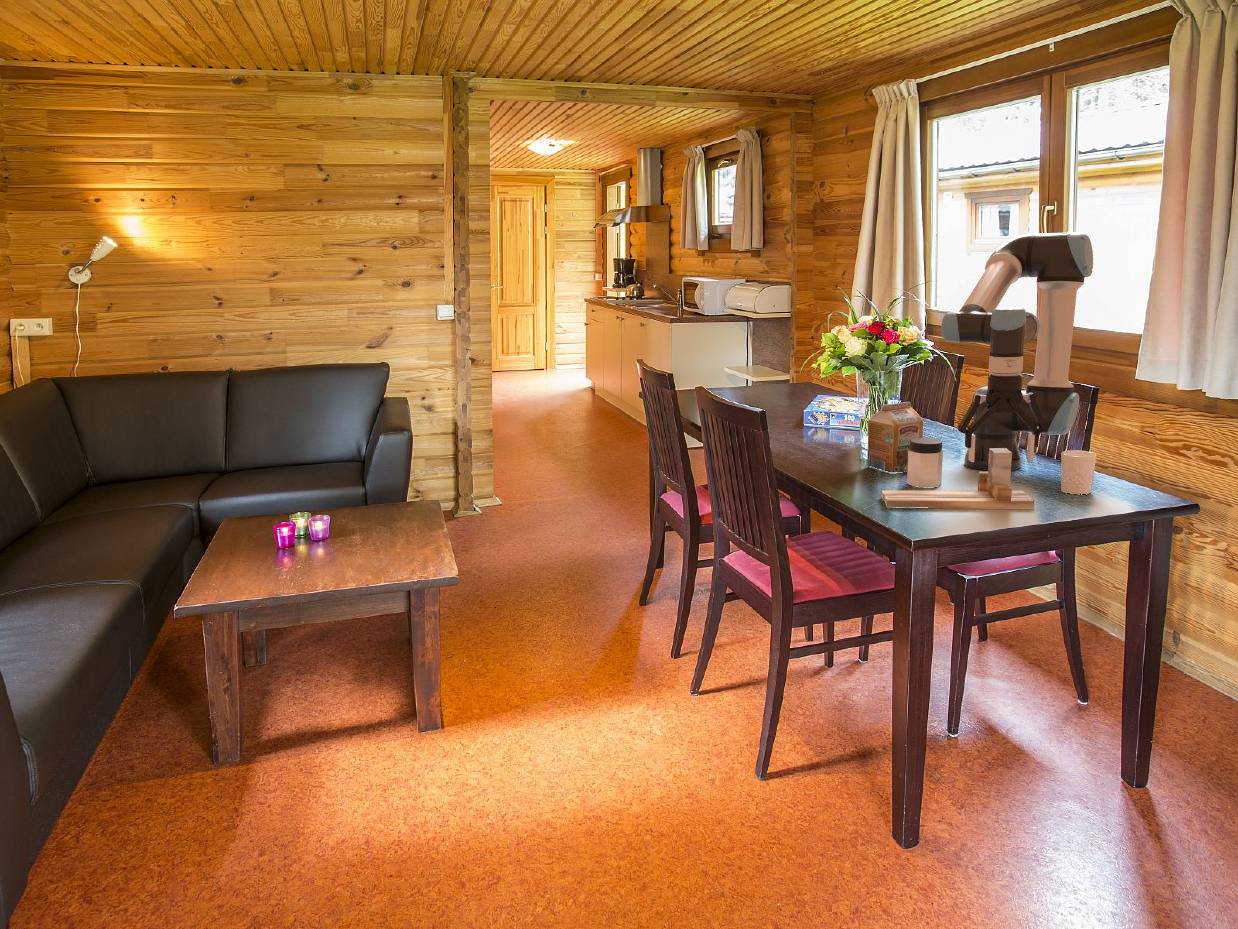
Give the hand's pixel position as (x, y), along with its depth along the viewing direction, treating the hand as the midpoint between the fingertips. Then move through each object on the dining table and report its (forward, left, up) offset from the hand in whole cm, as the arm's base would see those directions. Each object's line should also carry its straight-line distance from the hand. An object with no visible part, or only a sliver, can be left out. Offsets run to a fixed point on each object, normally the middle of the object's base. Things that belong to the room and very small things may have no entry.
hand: (1000, 460), depth 225 cm
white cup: (-12, +22, -11) cm, 27 cm away
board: (0, -10, -11) cm, 15 cm away
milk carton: (-38, -19, -11) cm, 44 cm away
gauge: (0, 0, -11) cm, 11 cm away
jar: (-19, -14, -11) cm, 26 cm away
